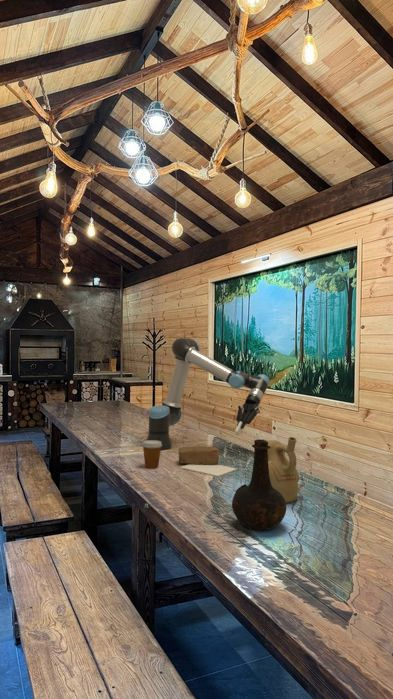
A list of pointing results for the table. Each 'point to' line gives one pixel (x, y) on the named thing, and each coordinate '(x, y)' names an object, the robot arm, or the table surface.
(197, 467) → the mat
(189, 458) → the block
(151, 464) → the disposable coffee cup
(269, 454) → the ceramic vessel
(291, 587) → the table surface
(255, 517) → the glass bottle
